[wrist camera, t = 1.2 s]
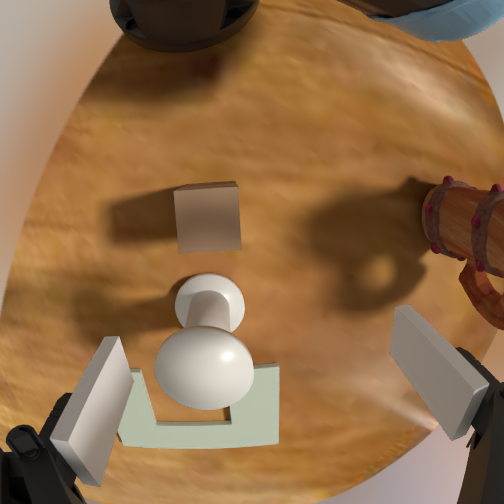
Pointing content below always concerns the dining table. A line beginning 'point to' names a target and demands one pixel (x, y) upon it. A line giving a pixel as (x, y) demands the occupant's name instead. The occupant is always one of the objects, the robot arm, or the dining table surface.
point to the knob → (206, 346)
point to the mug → (470, 239)
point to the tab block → (208, 217)
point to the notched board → (207, 432)
